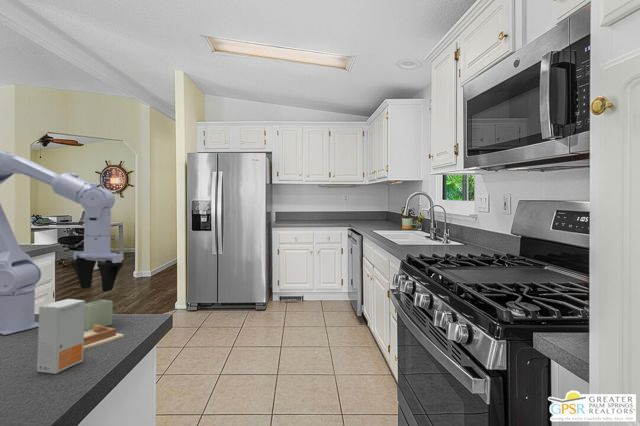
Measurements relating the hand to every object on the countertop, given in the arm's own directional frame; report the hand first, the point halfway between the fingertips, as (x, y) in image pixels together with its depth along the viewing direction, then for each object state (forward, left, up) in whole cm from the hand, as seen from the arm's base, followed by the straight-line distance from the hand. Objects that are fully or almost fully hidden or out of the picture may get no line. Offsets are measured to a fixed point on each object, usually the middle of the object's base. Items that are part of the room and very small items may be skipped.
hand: (96, 289), depth 91 cm
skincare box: (+17, -18, -10) cm, 27 cm away
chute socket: (+8, -8, -9) cm, 15 cm away
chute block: (0, 0, -9) cm, 9 cm away
